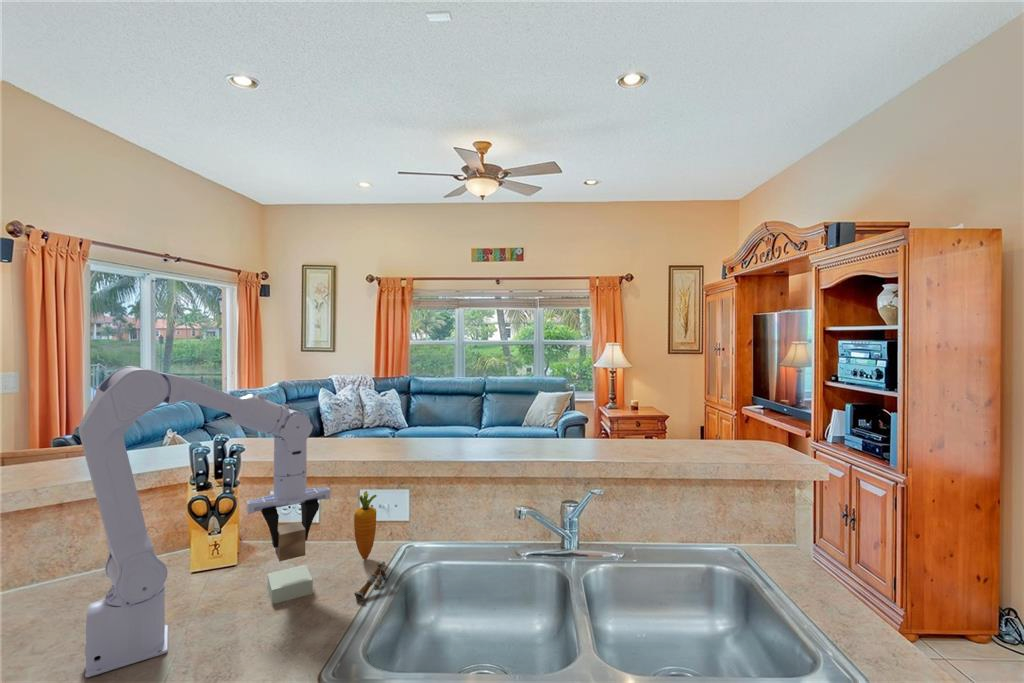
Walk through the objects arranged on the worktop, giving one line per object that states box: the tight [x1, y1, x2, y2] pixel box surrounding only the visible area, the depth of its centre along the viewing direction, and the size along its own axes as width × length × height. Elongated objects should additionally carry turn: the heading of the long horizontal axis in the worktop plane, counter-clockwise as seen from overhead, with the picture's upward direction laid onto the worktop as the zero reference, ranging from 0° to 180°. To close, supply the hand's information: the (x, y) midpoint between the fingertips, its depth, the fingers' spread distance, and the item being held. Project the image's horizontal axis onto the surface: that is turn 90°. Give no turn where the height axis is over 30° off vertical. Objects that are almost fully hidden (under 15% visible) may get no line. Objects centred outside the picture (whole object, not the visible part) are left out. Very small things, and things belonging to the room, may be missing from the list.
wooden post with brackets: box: [353, 560, 388, 602], centre depth 91 cm, size 2×8×4 cm, turn 156°
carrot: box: [353, 490, 377, 561], centre depth 103 cm, size 5×5×15 cm
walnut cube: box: [275, 521, 306, 563], centre depth 90 cm, size 4×4×5 cm
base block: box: [266, 564, 314, 605], centre depth 91 cm, size 7×7×3 cm
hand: (290, 542), depth 91 cm, fingers closed on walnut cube, 4 cm apart
